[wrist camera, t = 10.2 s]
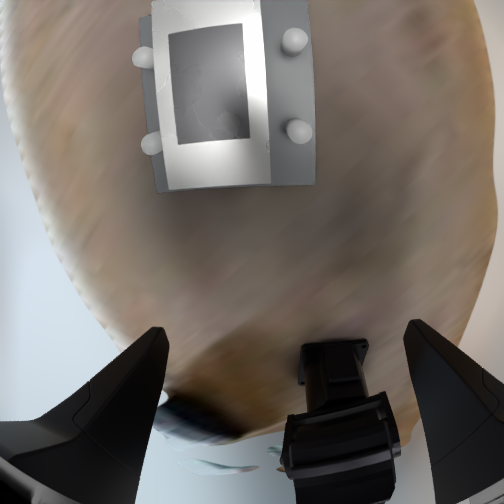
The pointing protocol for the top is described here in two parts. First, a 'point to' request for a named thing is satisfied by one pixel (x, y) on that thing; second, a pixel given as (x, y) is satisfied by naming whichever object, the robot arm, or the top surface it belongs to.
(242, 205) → the top surface
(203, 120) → the block
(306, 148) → the pin tray
